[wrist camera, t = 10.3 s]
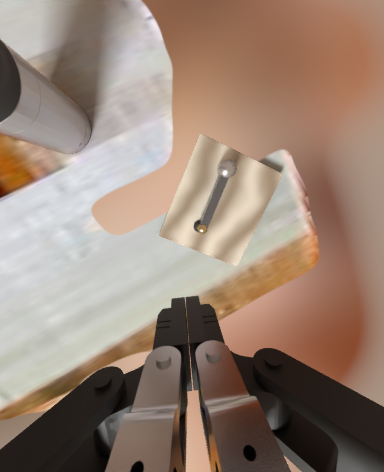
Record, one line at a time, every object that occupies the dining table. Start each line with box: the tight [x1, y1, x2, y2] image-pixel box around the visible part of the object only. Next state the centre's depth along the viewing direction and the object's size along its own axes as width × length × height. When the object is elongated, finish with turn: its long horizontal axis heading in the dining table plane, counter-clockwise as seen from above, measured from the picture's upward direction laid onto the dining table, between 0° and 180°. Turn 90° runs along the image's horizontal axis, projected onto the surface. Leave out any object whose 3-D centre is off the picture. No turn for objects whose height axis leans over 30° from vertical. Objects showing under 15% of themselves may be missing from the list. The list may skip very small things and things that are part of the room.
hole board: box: [159, 133, 283, 266], centre depth 41 cm, size 18×21×2 cm
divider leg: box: [197, 159, 237, 234], centre depth 39 cm, size 14×3×2 cm, turn 158°
